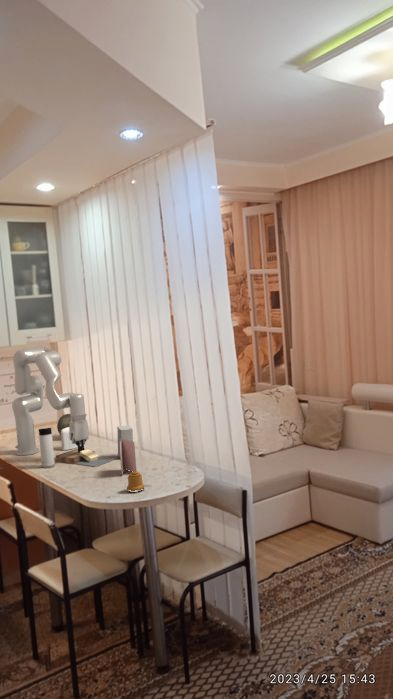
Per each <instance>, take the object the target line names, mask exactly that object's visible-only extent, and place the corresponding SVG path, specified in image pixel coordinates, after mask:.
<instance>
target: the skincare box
mask: <svg viewBox="0 0 393 699" xmlns="http://www.w3.org/2000/svg"><path fill="white" fill-rule="evenodd" d="M116 429H117V456H118V457H119V459H121V454H120V447H119V442H120V441H121V439H124V440H128V441H132V442H134V435H133V434H134V430H133V427H131V426H130V425H121V426H117V428H116Z"/></svg>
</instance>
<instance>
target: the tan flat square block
mask: <svg viewBox="0 0 393 699" xmlns="http://www.w3.org/2000/svg"><path fill="white" fill-rule="evenodd" d="M91 451H92V452H94V453H95V451H94V450H91ZM84 460H86V459H84V458H83V457H81V456H80V453H78V448H75V449H70V450H67V451H66V452H63V453H60V454H57V455H55V461H56V462H59V463H65V464H72V465H76V464H75V463H78V462H81V461H84Z"/></svg>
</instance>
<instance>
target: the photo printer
mask: <svg viewBox="0 0 393 699" xmlns="http://www.w3.org/2000/svg"><path fill="white" fill-rule="evenodd" d="M60 440H61V450H62V451H70V450H75V449H78V446H77V445H76V444H72V441H71V440H70V437H69V427H67V428H64V429H62V430H61V435H60Z"/></svg>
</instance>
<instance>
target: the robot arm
mask: <svg viewBox="0 0 393 699" xmlns="http://www.w3.org/2000/svg"><path fill="white" fill-rule="evenodd" d="M12 358H13V359H12V361H13V362H12V363H13V367H14V389H15V393H16V394H17V395H19V396H20V397H17V398H15V399H13V401H12V404H11V408H12V411H13V416H14V420H15V430H16V439H17V444H16V445H15V447H14V448H15V449H17V450H16V451H15V455H17V456H29V455H34V454H38V453H39V452H40V448H37V447H36V446H37V445H36V433H35V424H34V419H33V417H32V416H31V414H30V413H33V412H36V411H37V412H38V411H40V410H41V409H42V408H43V405H44V391H45V396H46V400H47V401H48V403H49V405H50V406H51V408H53V409H54V410H57V411H60V410H63V409H69V412H70V413H69V414H71V422H70V426H69V437H70V440H71V441H72V444H76V445H77V446H78V448H77V449H78V453H80V451H83V450H85V445H86V442H87V441H88V440H89V439H90V438H89V437H90V428H89V424H88V420H87V418H86V417H87V414H86V406H85V405H86V404H85V397H84V394H82V393H74V392H67V393H66V392H64V393H61V394H58V393H57V391H56V389H55V383H56V382H58V381H59V380H60V378H61V377H62V373H61V371H60V370H59V368H58V367H57V366H60V365H61V362H62V357H61V353H59V352H58V351H57V350H54V349H50V348H48V347H43V346H36V347H28V348H27V347H26V348H21V349H18V350H17V351H15V353H13V357H12ZM30 364H31V365H32V364H36V366H37V368H38V370H39V371H40V374H41V375H42V378H43V379H44V380H45V389H44V383H43V380H42V379H41V377H40V376H38V375H32V370H31V367H30V366H29V365H30Z"/></svg>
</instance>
